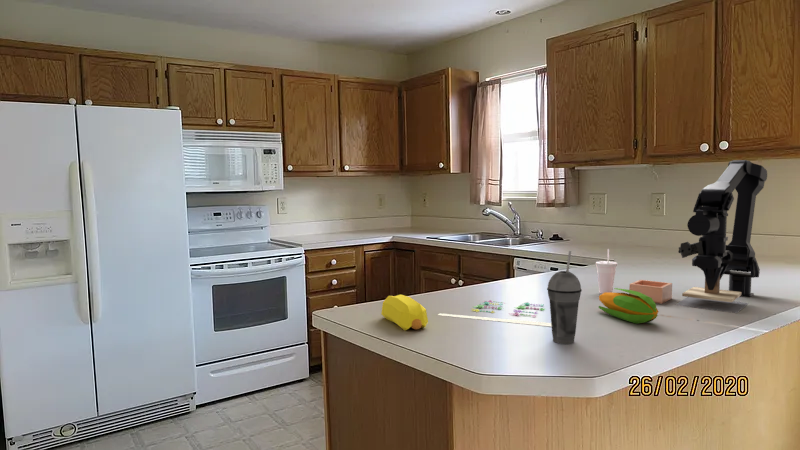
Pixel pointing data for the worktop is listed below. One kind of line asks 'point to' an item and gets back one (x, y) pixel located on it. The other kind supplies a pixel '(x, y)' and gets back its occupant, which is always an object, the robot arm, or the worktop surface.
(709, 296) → the lid
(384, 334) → the worktop surface
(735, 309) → the mat
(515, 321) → the printed paper
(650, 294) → the open box
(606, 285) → the smoothie
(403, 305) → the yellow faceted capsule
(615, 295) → the corn
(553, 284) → the beverage cup
